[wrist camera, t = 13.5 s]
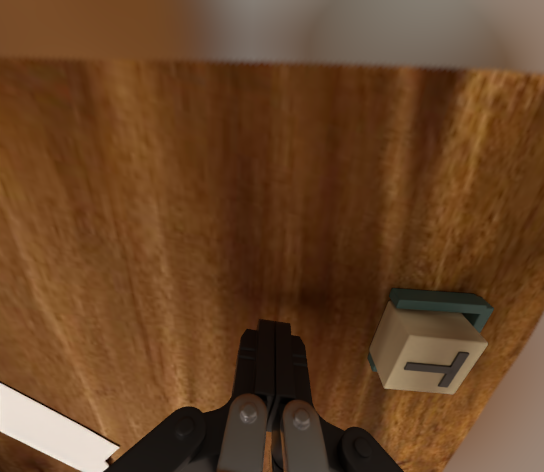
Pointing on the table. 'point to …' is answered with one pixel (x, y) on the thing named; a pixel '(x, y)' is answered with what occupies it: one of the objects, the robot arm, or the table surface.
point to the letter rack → (442, 306)
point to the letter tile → (425, 349)
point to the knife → (52, 432)
